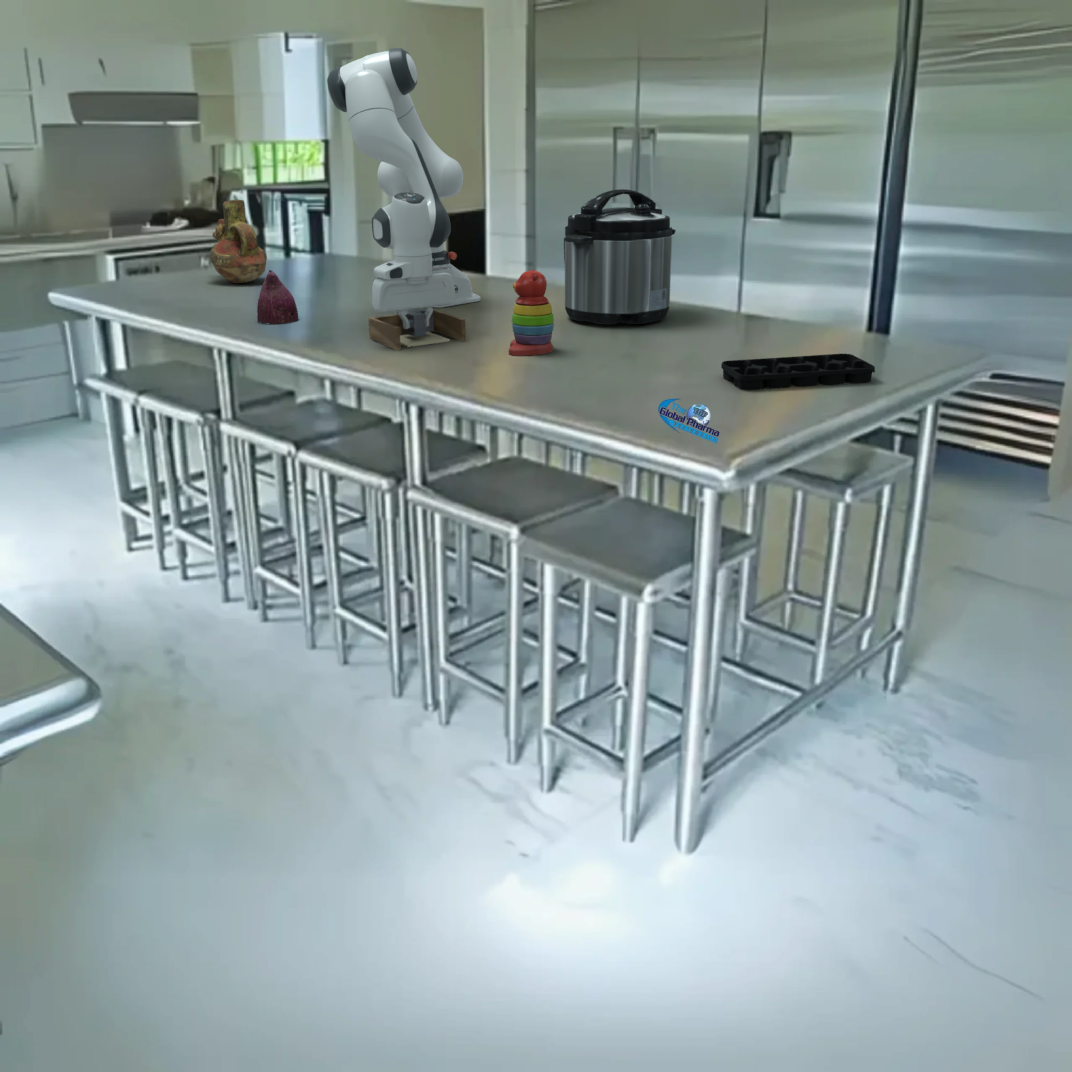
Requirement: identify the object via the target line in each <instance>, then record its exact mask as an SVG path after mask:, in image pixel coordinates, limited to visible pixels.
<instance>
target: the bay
mask: <svg viewBox="0 0 1072 1072" xmlns="http://www.w3.org/2000/svg"><path fill="white" fill-rule="evenodd" d="M367 320H368V321H367V323H368V335H369V336H368V337H369V340H371V339H373V340H372V341H375V342H376V341H377V343H378V342H379V344H381V343H382V344H381V345H383V344H384V346H386V347H388V346H389V347H388V348H390V347H391V348H390V349H393V348H394V349H393V350H395V349H396V351H401V350H402V347H401V346H402V345H401V343H400V335H408V334H405V333H403V332H402V328H401V318H400V316H399V315H398V313H397V314H390V315H381V316H375V317H374V316H372V317H368V319H367ZM433 326H434V331H429V332H431V333H433V332H437V333H438V334H442V335H444V336H448V337H450V338H451V339H452V338H453V339H456V340H458V341H462V342H465V341H467V336H466V333H467V332H466V319H465V318H462V317H459V316H456V315H454V314H453V315H452V314H450V313H447V312H444V311H441V310H439V309H438V310H437V309H433Z"/></svg>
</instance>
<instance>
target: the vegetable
mask: <svg viewBox="0 0 1072 1072" xmlns="http://www.w3.org/2000/svg"><path fill="white" fill-rule="evenodd" d="M260 288H261V289H260V291H259V295H258V299H257V307H256V308H257V309H256V310H257V311H256V313H257V316H256V319H257V320H256V321H257V323H259V322H261V323H260V324H264V323H269V324H268V325H282V324H281V323H284V324H290V323H293V322H296V321H299V311H298V307H297V303H296V300H295V297H294V296H293V294H292V293H291V292H290V291H289V289H288V287H286V285H285V284H284V283H283V282H282V281H281V279H280V278H279V276H278V275H277V274H276V273H275V272H274V271H273V270H272V269H268V272H266V276H265V280H264V282H263V283H262V286H261V287H260Z"/></svg>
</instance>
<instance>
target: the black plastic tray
mask: <svg viewBox="0 0 1072 1072" xmlns="http://www.w3.org/2000/svg"><path fill="white" fill-rule="evenodd" d="M720 368H721V369H722V379H724V380H725V381H726V382H729V383H733V386H734V387H736V388H738V389H739V390H744V391H759V390H761V389H763V388H764V387H765V388H767V389H775V390H776V389H787V388H791V386H793V387H797V388H798V387H799V388H800V387H801V388H807V387H815V386H818V384H820V385H822V386H838V385H844V384H845V383H846V382H847V383H849V384H868V383H871V382H872V374H873V373H876V369H875V368H876V367H875V365H873V364H871V363H870V362H868V361H865V360H864V359H862V358H860V357H858V356H855V355H854V354H852V353H851V354H850V353H829V354H814V355H813V354H812V355H802V356H801V355H800V356H797V355H796V356H783V357H782V356H781V357H768V358H767V357H765V358H752V359H734V360H724V361H722V362H721V367H720Z"/></svg>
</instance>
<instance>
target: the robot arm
mask: <svg viewBox="0 0 1072 1072" xmlns="http://www.w3.org/2000/svg"><path fill="white" fill-rule="evenodd" d="M326 84H327V91H328V95H329V98H330V100H331V101H332V103H333V105H334V106H335V108H336V109H338V110H339V111H341V112H343V113H346V115H347V118H348V124H349V128H350V129H349V130H350V132H351V136H352V139H353V142H354V144H355V146H356V148H358V150H360V152H361V153H363V154H364V155H366V156H367V157H369V158H371V159H372V160H376V161H380V163H379V166H378V168H377V173H376V174H377V181H378V186H379V187H380V189H381V190H382V192H384V193H385V194H386V195H387V196H388V198H389V199H390V200H391V202H390V203H389V204H388V205H386V206H383V207H379V208H378V210H376V212H375V213H374V215H373V216H372V217H371V229H372V230H371V231H372V237H373V240H374V241H375V242H376V243H377V244H378V245H380V247H382V248H384V249H385V248H386V249H391V250H393V252H392V253H393V256H392V259H390V260H388V261H386V262H384V263H382V264H380V265H377V266H375V267H374V268H373V275H374V276H375V277H376V278H375V279H374V281H373V282H372V290H371V304H372V308H373V310H375V311H376V312H378V313H381V314H382V313H390V312H397V314H398V315H399V316H400V318H401V319H402V321H403V328H404V329H411V328H412V321H410V320H408V319H407V318H406V316H405V315H406V314H407V310H414V309H423V308H424V311H425V318H426V327H427V326H429V318H430V316H431V314H432V312H433V310H434V308H446V307H451V306H457V305H462V304H463V305H464V304H470V303H475V302H476V303H477V302H480V301H481V296H480V295H478V294H477V293H474V292H473V288H472V283H471V280H470V278H469V276H468V275H466V274H465V273H463V272H462V271H461V270H459V269H458V268H457V267H455V266H454V265H453V264H451V260H453V261H455V260H456V259H457V257H458V255H457V253H456V252H454V251H449V252H448V251H447V250H445V247H444V243H445V242H446V241H447V239H448V238H449V236H450V235H451V232H452V231H451V230H452V229H451V228H452V226H451V221H450V220H451V219H450V216H449V214H448V212H447V210H446V208H445V206H444V205H443V203H442V201H441V200H443V199H448V198H452V197H456V196H457V195H458V194H459V193H460V192H461V190H462V187H463V185H464V184H463V183H464V172H463V171H464V170H463V168H462V167H461V164H460V163H459V162H458V160H457V159H454V158H453V157H450V156H449V155H448V154H447V153H445V152H444V151H443V150H442V149H441V148H440V147H439V146H438V145H437V144H436V143H435V142H434V140H433V139H432V138H431V136H429V134H428V132H427V131H426V129H425V128H424V126H423V124H422V121H421V119H420V116H419V115H418V112H417V110H416V107H415V105H414V101H413V99H412V97H411V95H410V93H412V91H414V90H415V88H416V86H417V84H418V70H417V67H416V64H415V62H414V59H413V58H412V57H411V55H410V54H409V52H408V51H407V50H405V49H403V48H402V47H401V48H399V47H397V48H396V47H395V48H390V49H388V50H386V51H380V52H376V53H371V54H367V55H365V56H364V57H361V58H358V59H355V60H353V61H350V62H349V63H346V64H344V65H343V66H342V65H339V66H337V67H335V68H334V69H332V70H330V72H329V74H328V75H327V79H326Z"/></svg>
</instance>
